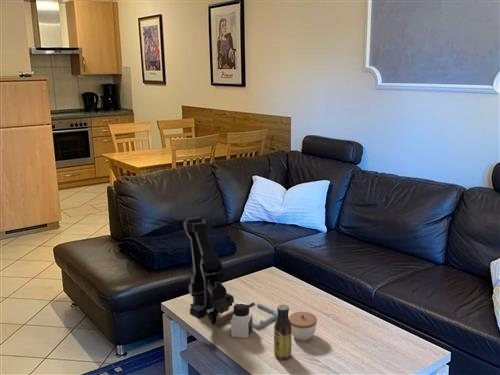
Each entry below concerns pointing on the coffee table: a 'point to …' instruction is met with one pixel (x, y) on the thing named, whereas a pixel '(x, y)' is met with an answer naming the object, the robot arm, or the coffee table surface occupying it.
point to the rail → (249, 306)
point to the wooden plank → (224, 317)
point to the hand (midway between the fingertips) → (213, 324)
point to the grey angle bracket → (263, 322)
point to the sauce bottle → (282, 334)
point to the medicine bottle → (241, 321)
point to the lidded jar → (303, 325)
